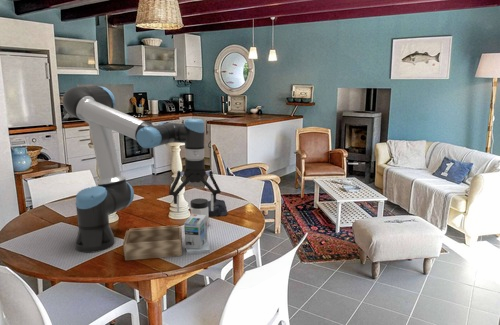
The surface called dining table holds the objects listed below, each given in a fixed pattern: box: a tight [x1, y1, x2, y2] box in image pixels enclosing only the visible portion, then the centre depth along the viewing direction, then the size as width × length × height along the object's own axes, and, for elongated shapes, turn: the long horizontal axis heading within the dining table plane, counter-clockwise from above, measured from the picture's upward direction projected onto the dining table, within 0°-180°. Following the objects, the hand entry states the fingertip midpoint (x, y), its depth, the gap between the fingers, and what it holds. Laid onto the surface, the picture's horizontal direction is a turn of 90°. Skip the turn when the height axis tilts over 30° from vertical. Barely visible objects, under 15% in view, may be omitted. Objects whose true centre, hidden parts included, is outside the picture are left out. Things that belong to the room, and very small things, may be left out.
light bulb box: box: [183, 214, 208, 249], centre depth 157 cm, size 11×7×11 cm, turn 171°
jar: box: [189, 197, 210, 227], centre depth 181 cm, size 9×8×12 cm
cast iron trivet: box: [208, 198, 228, 218], centre depth 204 cm, size 15×22×5 cm
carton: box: [122, 225, 184, 261], centre depth 154 cm, size 22×16×7 cm
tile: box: [185, 239, 211, 256], centre depth 158 cm, size 9×14×1 cm, turn 12°
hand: (195, 210), depth 156 cm, fingers open, 13 cm apart
